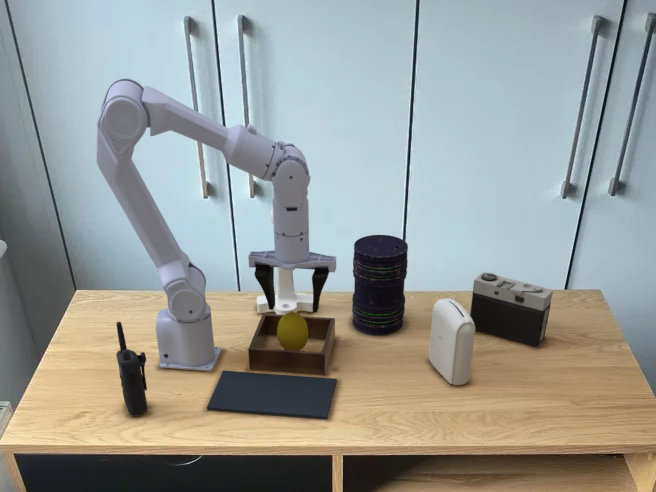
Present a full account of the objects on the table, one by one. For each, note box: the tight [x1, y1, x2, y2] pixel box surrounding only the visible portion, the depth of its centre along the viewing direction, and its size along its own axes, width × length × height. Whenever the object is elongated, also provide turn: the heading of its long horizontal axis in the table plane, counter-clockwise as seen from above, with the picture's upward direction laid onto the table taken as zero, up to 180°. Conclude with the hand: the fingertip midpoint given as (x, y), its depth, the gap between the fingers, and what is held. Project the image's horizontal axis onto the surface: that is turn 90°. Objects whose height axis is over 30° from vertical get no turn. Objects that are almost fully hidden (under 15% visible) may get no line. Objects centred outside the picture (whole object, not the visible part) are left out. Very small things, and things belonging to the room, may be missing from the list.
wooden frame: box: [247, 313, 336, 376], centre depth 153 cm, size 13×13×4 cm
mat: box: [206, 370, 338, 420], centre depth 144 cm, size 20×12×1 cm, turn 83°
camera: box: [469, 271, 554, 348], centre depth 158 cm, size 14×8×10 cm, turn 58°
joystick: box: [256, 207, 314, 315], centre depth 159 cm, size 11×8×20 cm
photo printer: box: [428, 297, 476, 386], centre depth 146 cm, size 10×4×12 cm, turn 20°
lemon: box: [276, 311, 309, 351], centre depth 152 cm, size 6×6×8 cm
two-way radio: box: [115, 321, 148, 417], centre depth 136 cm, size 6×4×15 cm
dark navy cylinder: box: [351, 234, 409, 337], centre depth 158 cm, size 10×10×15 cm
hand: (293, 308), depth 149 cm, fingers open, 7 cm apart
